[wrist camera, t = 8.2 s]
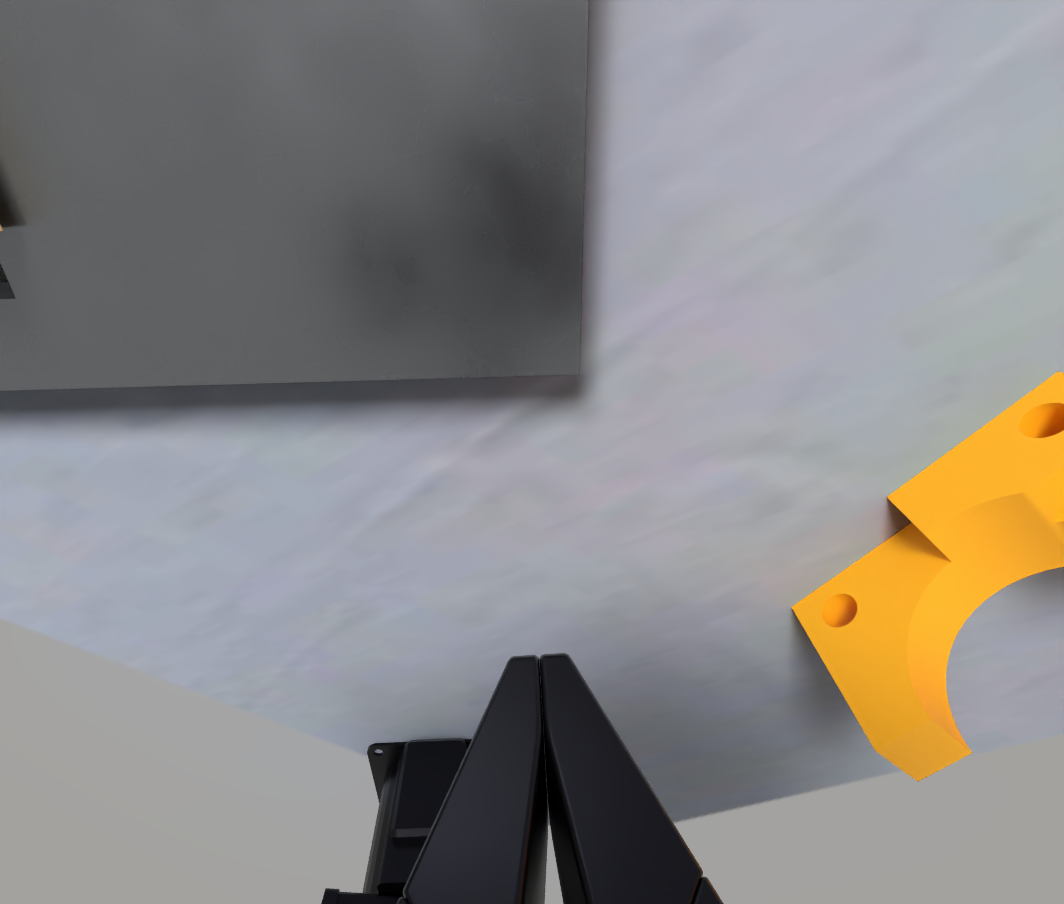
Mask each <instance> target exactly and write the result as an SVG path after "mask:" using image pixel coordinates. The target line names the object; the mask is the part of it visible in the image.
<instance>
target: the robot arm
mask: <svg viewBox="0 0 1064 904" xmlns="http://www.w3.org/2000/svg"><path fill="white" fill-rule="evenodd" d="M539 661H540V667H539ZM540 678H541V683H540ZM541 696H542V699H541ZM542 713H543V715H542ZM543 729H544V732H543ZM544 745H545V749H544ZM376 749H380V750H382V751H383V753H375V752H374V750H376ZM367 754H368V758H369V762H370V766H371V770H372V774H373V779H374V783H375V787H376V791H377V795H378V799H379V803H380V804H379V809H378V814H377V819H376V825H375V830H374V835H373V840H372V846H371V851H370V856H369V861H368V867H367V872H366V877H365V883H364V888H363V893H350V892H349V893H348V892H339V889H329V888H326V889H325V893H324V896H323V900H322V904H544V901H545V881H546V861H547V840H548V808H549V819H550V826H551V833H552V840H553V845H554V851H555V857H556V863H557V868H558V874H559V880H560V886H561V891H562V897H563V903H564V904H723V902H722V901H721V899H720V897H719V896H718V894H717V892H716V891H715V889H714V888H713V886H712V885H711V883H710V881H709V880H708V878H706V877H702V875H703V871H702V869H701V867H700V866H699V864H698V862H697V861H696V859H695V858H694V856H693V854H692V853H691V851H690V849H689V848H688V846H687V845H686V843H685V841H684V840H683V838H682V837H681V835H680V833H679V832H678V830H677V829H676V827H675V825H674V824H673V822H672V820H671V819H670V817H669V816H668V814H667V812H666V811H665V809H664V808H663V806H662V804H661V803H660V801H659V799H658V798H657V796H656V795H655V793H654V791H653V790H652V788H651V787H650V785H649V783H648V782H647V780H646V778H645V777H644V775H643V774H642V772H641V770H640V769H639V767H638V766H637V764H636V762H635V761H634V759H633V758H632V756H631V754H630V753H629V751H628V749H627V748H626V746H625V745H624V743H623V741H622V740H621V738H620V737H619V735H618V733H617V732H616V730H615V728H614V727H613V725H612V724H611V722H610V720H609V719H608V717H607V716H606V714H605V712H604V711H603V709H602V708H601V706H600V704H599V703H598V701H597V699H596V698H595V696H594V695H593V693H592V691H591V690H590V688H589V687H588V685H587V683H586V682H585V680H584V678H583V677H582V675H581V674H580V672H579V670H578V669H577V667H576V666H575V664H574V662H573V661H572V659H571V658H570V656H569V655H567V654H566V653H557V654H544V655H542V656H541V657H540V660H539V658H538V657H537V656H536V655H526V656H514V657H511V658H510V659H509V661H508V663H507V665H506V667H505V669H504V671H503V673H502V676H501V678H500V680H499V682H498V684H497V686H496V689H495V691H494V693H493V695H492V697H491V700H490V702H489V704H488V706H487V708H486V710H485V713H484V715H483V717H482V719H481V721H480V724H479V726H478V728H477V730H476V732H475V734H474V737H473V739H466V740H463V739H441V740H417V741H409V742H394V743H375V744H372V745H370V746H369V747H368V751H367ZM545 762H546V767H545ZM546 778H547V784H546ZM547 795H548V802H547Z"/></svg>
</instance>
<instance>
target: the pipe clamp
mask: <svg viewBox="0 0 1064 904" xmlns="http://www.w3.org/2000/svg"><path fill="white" fill-rule="evenodd" d="M887 498H888V499H889V500H890V501H891V502H892V503H893V504H894V505H895V506H896V507H897V508H898V509H899V510H900V511H901V512H902V513H903V514H904V515H905V516H906V517H907V518H908V519H909V520H910V521H911V522H912V523H910V524H909V525H908V526H906V527H905V528H903V529H902V530H900V531H899V532H898V533H896V534H895V535H893V536H892V537H891V538H889V539H888V540H886V541H885V542H883V543H882V544H881V545H879V546H878V547H876V548H875V549H873V550H872V551H871V552H869V553H868V554H866V555H865V556H864V557H862V558H861V559H859V560H858V561H856V562H855V563H854V564H852V565H851V566H849V567H848V568H846V569H845V570H844V571H842V572H841V573H839V574H838V575H837V576H835V577H834V578H832V579H831V580H829V581H828V582H827V583H825V584H824V585H822V586H821V587H819V588H818V589H817V590H815V591H814V592H812V593H811V594H810V595H808V596H807V597H805V598H804V599H802V600H801V601H800V602H798V603H797V604H795V605H794V606H792V609H793V611H794V612H795V614H796V616H797V617H798V619H799V621H800V623H801V624H802V626H803V628H804V629H805V631H806V633H807V635H808V636H809V638H810V640H811V641H812V643H813V645H814V647H815V648H816V650H817V652H818V653H819V655H820V657H821V659H822V660H823V662H824V664H825V665H826V667H827V669H828V671H829V672H830V674H831V676H832V677H833V679H834V681H835V683H836V684H837V686H838V688H839V689H840V691H841V693H842V695H843V696H844V698H845V700H846V701H847V703H848V705H849V707H850V708H851V710H852V712H853V713H854V715H855V717H856V719H857V720H858V722H859V724H860V725H861V727H862V729H863V731H864V732H865V734H866V736H867V737H868V739H869V741H870V743H871V744H872V746H873V748H874V749H875V751H876V752H878V753H879V754H881V755H882V756H883V757H885V758H886V759H887V760H889V761H890V762H892V763H893V764H894V765H896V766H897V767H899V768H900V769H901V770H903V771H904V772H905V773H907V774H908V775H910V776H911V777H912V778H914V779H915V780H917V781H920V780H922V779H924V778H926V777H927V776H929V775H931V774H933V773H935V772H937V771H939V770H941V769H943V768H945V767H946V766H948V765H950V764H952V763H954V762H956V761H958V760H960V759H962V758H963V757H965V756H967V755H969V754H971V753H972V752H971V750H970V749H969V747H968V746H967V744H966V743H965V741H964V740H963V738H962V736H961V734H960V732H959V730H958V728H957V726H956V724H955V721H954V719H953V716H952V713H951V710H950V706H949V702H948V697H947V690H946V670H947V662H948V657H949V653H950V650H951V647H952V644H953V642H954V639H955V637H956V635H957V634H958V632H959V630H960V628H961V627H962V625H963V624H964V622H965V621H966V619H967V618H968V617H969V616H970V615H971V614H972V612H973V611H974V610H975V609H976V608H977V607H978V606H979V605H980V604H982V603H983V602H984V601H985V600H986V599H988V598H989V597H990V596H992V595H993V594H994V593H996V592H997V591H999V590H1001V589H1002V588H1004V587H1006V586H1008V585H1010V584H1012V583H1014V582H1016V581H1018V580H1020V579H1022V578H1025V577H1028V576H1030V575H1033V574H1036V573H1039V572H1043V571H1046V570H1050V569H1055V568H1060V567H1064V373H1061V372H1059V371H1058V372H1057V373H1055V374H1054V375H1053V376H1051V377H1050V378H1049V379H1047V380H1046V381H1045V382H1043V383H1042V384H1040V385H1039V386H1038V387H1036V388H1035V389H1034V390H1032V391H1031V392H1030V393H1028V394H1027V395H1025V396H1024V397H1023V398H1021V399H1020V400H1019V401H1017V402H1016V403H1014V404H1013V405H1012V406H1010V407H1009V408H1008V409H1006V410H1005V411H1004V412H1002V413H1001V414H999V415H998V416H997V417H995V418H994V419H993V420H991V421H990V422H989V423H987V424H986V425H984V426H983V427H982V428H980V429H979V430H978V431H976V432H975V433H974V434H972V435H971V436H969V437H968V438H967V439H965V440H964V441H963V442H961V443H960V444H959V445H957V446H956V447H954V448H953V449H952V450H950V451H949V452H948V453H946V454H945V455H943V456H942V457H941V458H939V459H938V460H937V461H935V462H934V463H933V464H931V465H930V466H928V467H927V468H926V469H924V470H923V471H922V472H920V473H919V474H918V475H916V476H915V477H913V478H912V479H911V480H909V481H908V482H907V483H905V484H904V485H903V486H901V487H900V488H898V489H897V490H896V491H894V492H893V493H892V494H890V495H889V496H887Z"/></svg>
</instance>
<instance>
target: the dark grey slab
mask: <svg viewBox="0 0 1064 904" xmlns="http://www.w3.org/2000/svg"><path fill="white" fill-rule="evenodd" d="M588 12H589V0H0V225H1V227H2V230H3V231H0V264H1V266H2V268H3V270H4V273H5V275H6V277H7V279H8V282H0V391H12V390H48V389H83V388H119V387H155V386H190V385H226V384H261V383H297V382H333V381H368V380H404V379H439V378H475V377H511V376H546V375H580V340H581V299H582V258H583V217H584V176H585V135H586V94H587V53H588Z"/></svg>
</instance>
